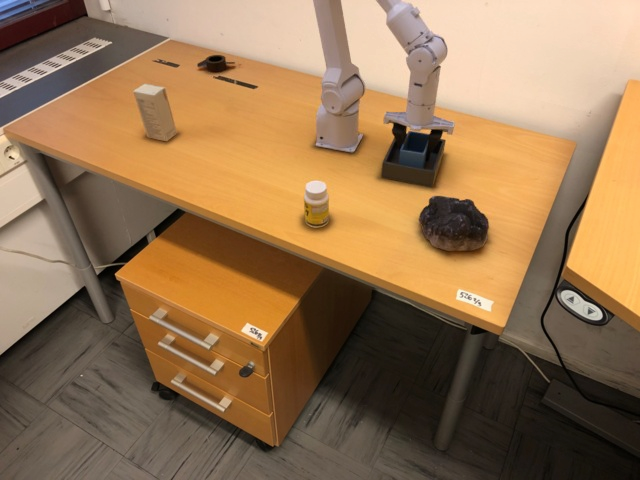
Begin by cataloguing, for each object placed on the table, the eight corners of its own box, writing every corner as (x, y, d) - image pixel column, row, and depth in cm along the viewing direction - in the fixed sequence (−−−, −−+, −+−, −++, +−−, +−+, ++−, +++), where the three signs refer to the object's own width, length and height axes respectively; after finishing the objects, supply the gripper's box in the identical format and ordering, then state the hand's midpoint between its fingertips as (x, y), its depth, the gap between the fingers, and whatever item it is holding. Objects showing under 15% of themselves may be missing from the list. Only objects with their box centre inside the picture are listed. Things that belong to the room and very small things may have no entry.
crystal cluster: (441, 204, 106) (442, 164, 99) (504, 226, 99) (510, 185, 92) (405, 242, 99) (404, 202, 93) (470, 269, 92) (474, 228, 85)
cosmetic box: (177, 133, 127) (166, 87, 118) (166, 142, 124) (155, 95, 116) (156, 128, 129) (144, 82, 120) (145, 136, 126) (132, 90, 118)
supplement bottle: (304, 213, 104) (302, 179, 98) (327, 212, 104) (327, 178, 98) (305, 229, 100) (304, 195, 94) (329, 227, 100) (329, 193, 95)
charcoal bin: (381, 177, 112) (382, 162, 109) (395, 146, 121) (396, 131, 118) (432, 187, 109) (435, 172, 106) (443, 154, 118) (445, 139, 116)
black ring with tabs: (211, 60, 158) (209, 51, 156) (238, 66, 154) (236, 57, 153) (195, 70, 153) (193, 60, 151) (223, 76, 150) (221, 67, 148)
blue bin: (421, 174, 111) (424, 154, 107) (397, 169, 112) (400, 150, 109) (429, 153, 117) (432, 134, 113) (406, 149, 118) (408, 130, 114)
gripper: (381, 103, 103) (377, 160, 112) (454, 114, 100) (444, 172, 109) (390, 87, 108) (385, 143, 117) (460, 97, 104) (449, 154, 114)
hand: (414, 156), depth 113 cm, fingers closed on blue bin, 5 cm apart
